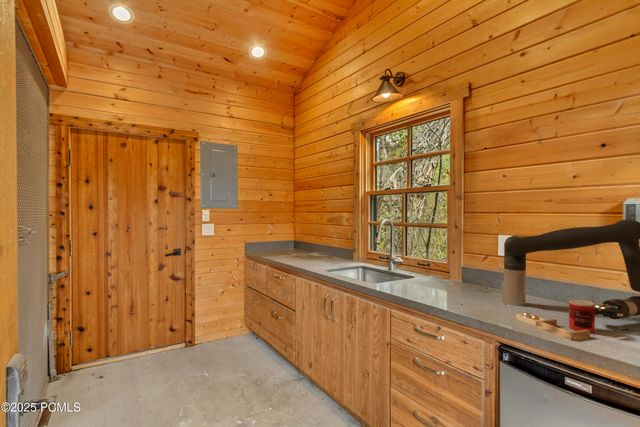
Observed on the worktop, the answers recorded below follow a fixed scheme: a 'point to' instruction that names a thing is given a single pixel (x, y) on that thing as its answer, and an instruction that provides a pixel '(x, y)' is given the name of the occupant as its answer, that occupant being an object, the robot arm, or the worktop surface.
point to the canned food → (581, 315)
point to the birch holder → (561, 330)
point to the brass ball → (535, 317)
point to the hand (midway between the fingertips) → (588, 312)
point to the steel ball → (527, 315)
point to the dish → (527, 319)
